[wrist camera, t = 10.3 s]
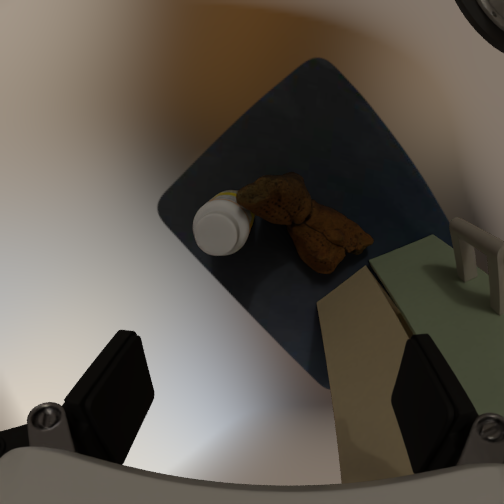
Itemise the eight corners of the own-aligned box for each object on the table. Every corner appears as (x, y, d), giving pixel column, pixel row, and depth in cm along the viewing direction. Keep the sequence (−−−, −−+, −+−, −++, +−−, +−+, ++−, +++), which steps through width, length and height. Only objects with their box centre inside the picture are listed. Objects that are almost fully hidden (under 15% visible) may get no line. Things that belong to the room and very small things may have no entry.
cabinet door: (354, 217, 37) (506, 413, 8) (422, 191, 35) (633, 306, 6) (370, 265, 39) (486, 481, 9) (434, 239, 37) (604, 395, 7)
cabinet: (365, 265, 39) (478, 488, 9) (401, 313, 40) (498, 511, 11) (316, 302, 41) (346, 545, 11) (355, 346, 43) (403, 557, 13)
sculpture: (283, 158, 25) (378, 294, 28) (304, 137, 33) (376, 241, 37) (214, 208, 29) (308, 323, 33) (250, 175, 38) (322, 269, 41)
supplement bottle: (223, 242, 40) (204, 274, 30) (201, 202, 38) (174, 222, 29) (264, 222, 38) (257, 249, 29) (242, 180, 37) (227, 193, 27)
